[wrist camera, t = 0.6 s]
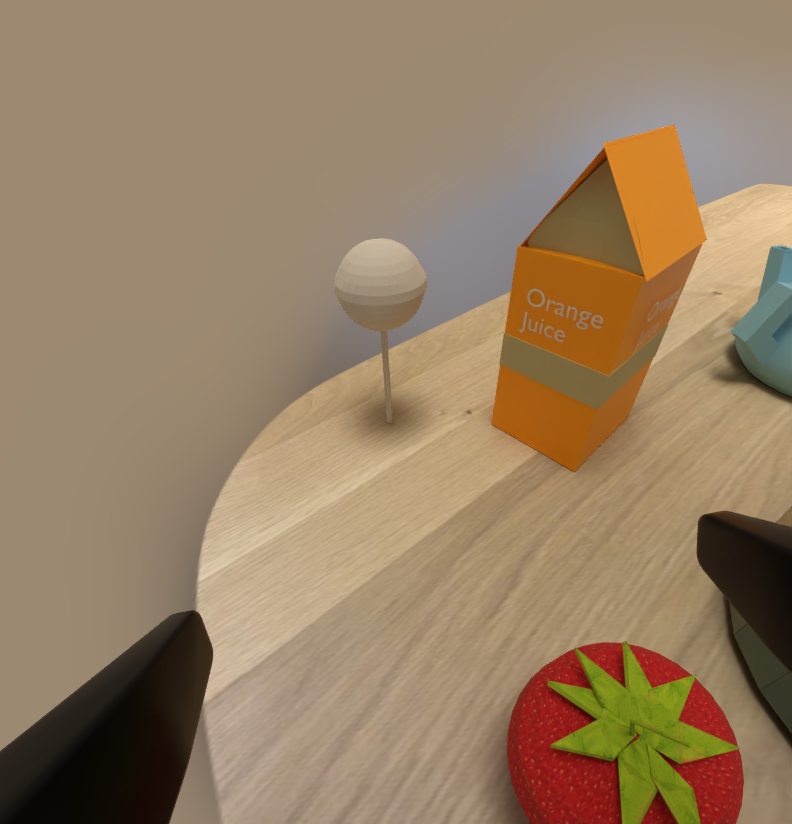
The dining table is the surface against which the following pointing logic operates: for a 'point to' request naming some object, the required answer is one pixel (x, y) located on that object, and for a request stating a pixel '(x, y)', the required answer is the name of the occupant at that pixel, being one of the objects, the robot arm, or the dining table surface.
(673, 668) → the strawberry
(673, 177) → the orange juice
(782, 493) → the dining table surface
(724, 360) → the dining table surface
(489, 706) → the dining table surface
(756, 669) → the teal pet bowl
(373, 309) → the lollipop
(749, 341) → the teapot
